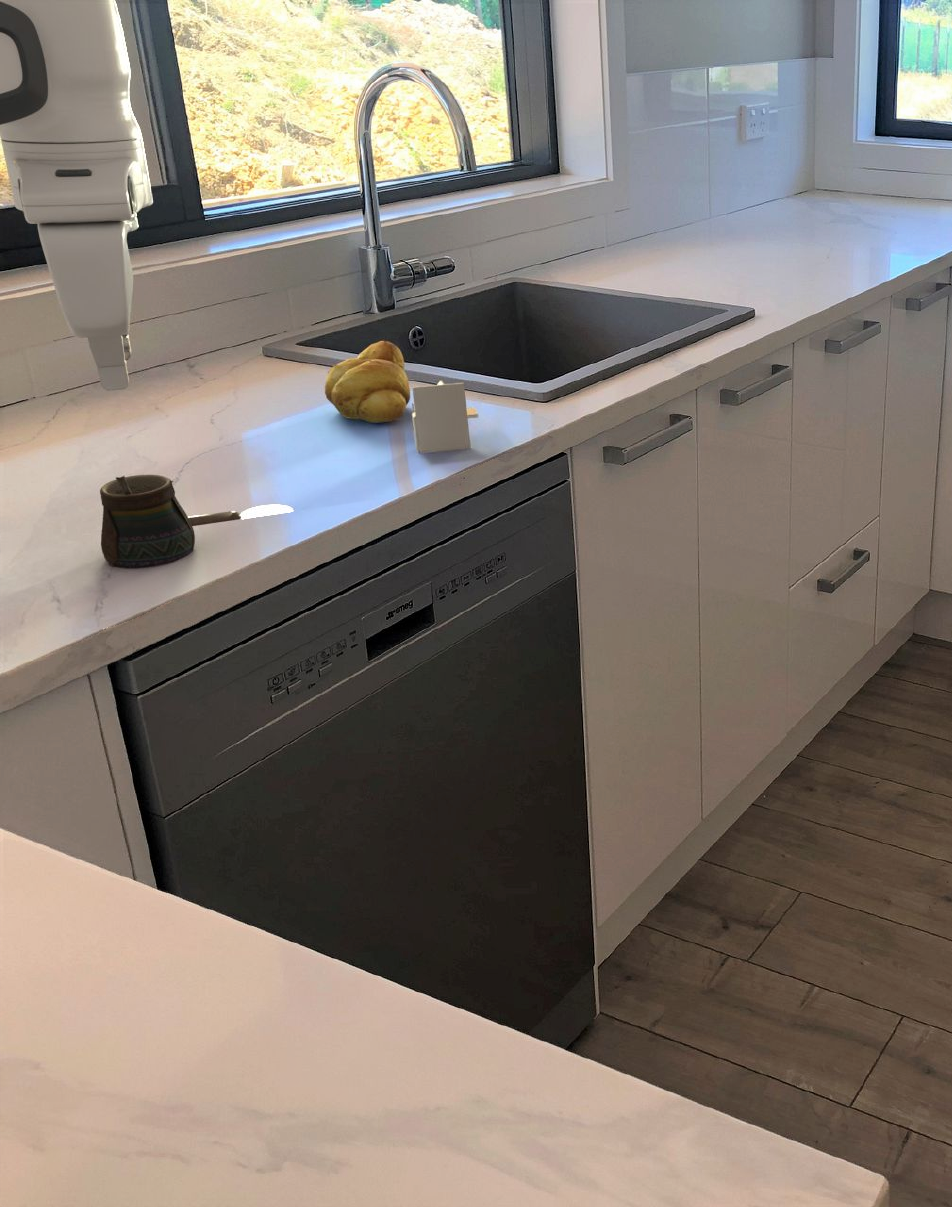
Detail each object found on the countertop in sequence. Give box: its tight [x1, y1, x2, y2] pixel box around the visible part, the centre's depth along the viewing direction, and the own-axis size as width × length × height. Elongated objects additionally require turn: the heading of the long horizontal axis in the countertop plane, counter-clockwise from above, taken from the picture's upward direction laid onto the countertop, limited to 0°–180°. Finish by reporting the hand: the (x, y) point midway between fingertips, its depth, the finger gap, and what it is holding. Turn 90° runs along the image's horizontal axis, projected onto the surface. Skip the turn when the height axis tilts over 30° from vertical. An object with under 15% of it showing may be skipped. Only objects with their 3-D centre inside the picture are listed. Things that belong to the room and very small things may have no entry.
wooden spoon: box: [187, 504, 294, 527], centre depth 122 cm, size 14×5×2 cm, turn 116°
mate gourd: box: [99, 474, 196, 569], centre depth 111 cm, size 7×8×10 cm
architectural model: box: [411, 380, 479, 454], centre depth 146 cm, size 3×7×7 cm, turn 112°
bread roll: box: [324, 340, 411, 424], centre depth 157 cm, size 13×10×8 cm
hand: (118, 373), depth 99 cm, fingers open, 8 cm apart
